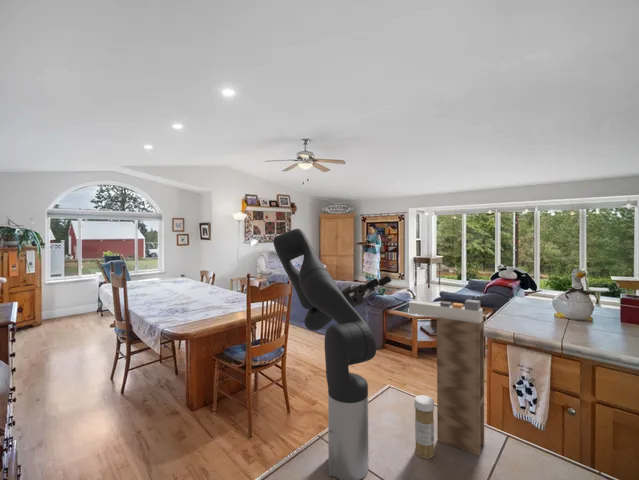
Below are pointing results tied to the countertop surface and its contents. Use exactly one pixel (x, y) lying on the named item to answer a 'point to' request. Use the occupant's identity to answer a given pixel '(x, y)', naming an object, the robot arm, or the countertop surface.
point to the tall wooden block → (460, 384)
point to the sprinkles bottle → (424, 426)
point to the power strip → (449, 310)
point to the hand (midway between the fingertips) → (384, 279)
